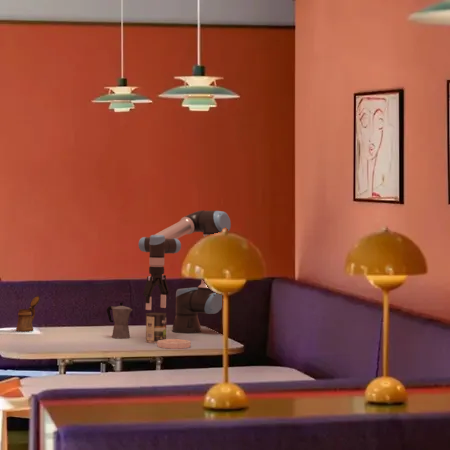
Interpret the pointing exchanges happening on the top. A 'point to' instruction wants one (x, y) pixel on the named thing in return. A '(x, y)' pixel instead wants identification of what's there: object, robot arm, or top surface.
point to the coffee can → (155, 327)
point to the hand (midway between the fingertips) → (155, 308)
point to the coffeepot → (120, 321)
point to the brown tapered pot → (27, 317)
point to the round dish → (174, 343)
